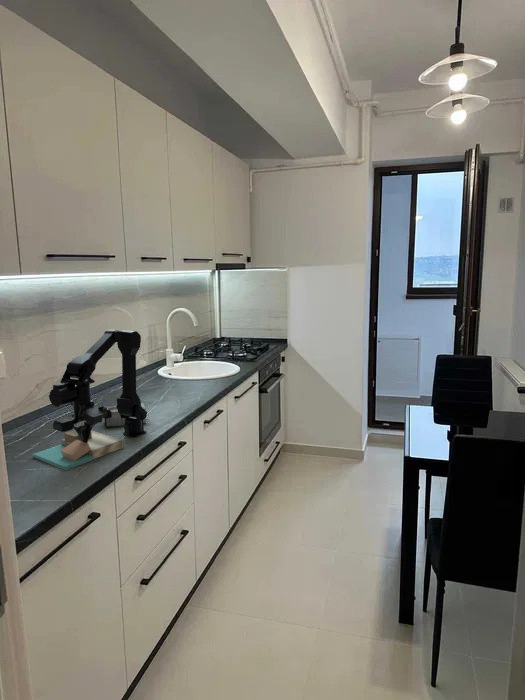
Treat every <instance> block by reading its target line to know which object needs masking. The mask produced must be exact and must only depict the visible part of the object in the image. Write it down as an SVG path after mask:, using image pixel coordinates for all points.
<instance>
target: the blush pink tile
mask: <svg viewBox="0 0 525 700" xmlns="http://www.w3.org/2000/svg"><path fill="white" fill-rule="evenodd" d="M90 450H91V449H90V447H89V444H88V443H85V442H82V441H79V440H76V441H74V442H73V443H71V444H70V445H68V446H67V447H65V448H64V449H62V450H61V454H62V456H63V457H65V458H67V459H70V460H73V461H75V460H77V459H78V458H80V457H81V456H82V455H84V454H85V453H87V452H88V451H90Z"/></svg>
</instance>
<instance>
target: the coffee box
mask: <svg viewBox="0 0 525 700" xmlns="http://www.w3.org/2000/svg"><path fill="white" fill-rule="evenodd" d="M106 407H107V409H110V410H111V412H112V417H110V418H107V419H104V418H103V420H104V427H105V428H112V427H121V426H123V427H124V424H125V419H124V418H121V416H120V414H119V413H118V409H116V407H117V405H110V406H109V405H108V406H106ZM141 407H142V408H143V409H144V410H145V411H146V412H147V409H146V407H145V404H144V402H141ZM146 423H147V417H146V418H145V419H144V420H143V424H146Z"/></svg>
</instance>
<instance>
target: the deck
mask: <svg viewBox="0 0 525 700" xmlns="http://www.w3.org/2000/svg"><path fill="white" fill-rule="evenodd" d="M91 433H92V438H90V439H88V444H89V447H90V449H91V450H90V451H88V452H87V453H85V454H88V455H91V456H93V460H94V459H97V458H99V457H102V456H105V455H108V454H111V453H112V452H115V451H118V450H120V449H123V448H124V447H123V439H121V438H117V437H115V436H112V435H107V434H105V433H102V432H100V431H99V432H98V431H94V430H91ZM71 443H73V442H70V441H67V440H65V438H64V439H61V445H63V446H66V447H67V446H68V445H70V444H71Z"/></svg>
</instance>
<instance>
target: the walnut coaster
mask: <svg viewBox="0 0 525 700" xmlns="http://www.w3.org/2000/svg"><path fill="white" fill-rule="evenodd" d="M63 434H64V435H63V437H64V439H65V440H67V441H70V442H74V441H76V440H79V441H82V440H81V438H80V437H79V435H78V433H77V432H76V431H75V429H72V430H69V431H66V432H63ZM90 438H92V433H91V432H90V436H89V439H90Z"/></svg>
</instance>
